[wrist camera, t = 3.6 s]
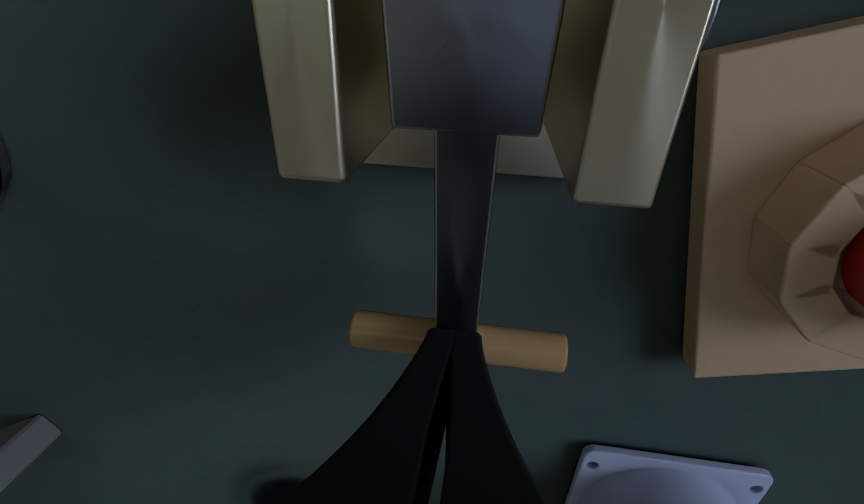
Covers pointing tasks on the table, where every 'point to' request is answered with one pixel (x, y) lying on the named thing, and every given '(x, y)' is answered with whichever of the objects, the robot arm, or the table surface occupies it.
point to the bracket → (534, 156)
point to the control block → (776, 204)
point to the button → (854, 268)
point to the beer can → (4, 169)
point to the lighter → (23, 445)
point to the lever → (467, 152)
